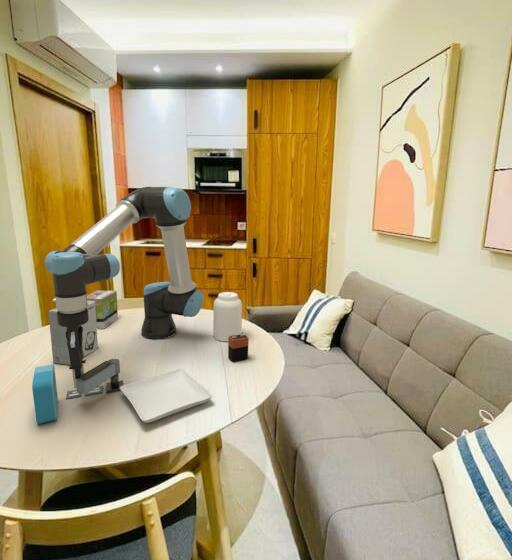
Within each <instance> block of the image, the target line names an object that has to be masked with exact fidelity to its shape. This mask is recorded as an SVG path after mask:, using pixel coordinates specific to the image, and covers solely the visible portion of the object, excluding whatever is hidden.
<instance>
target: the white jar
mask: <svg viewBox="0 0 512 560" xmlns="http://www.w3.org/2000/svg"><path fill="white" fill-rule="evenodd" d="M242 303H243V302H242V301H241V299H240V298H239V295H238V293H236V292H233V291H223V292H220V293H218V295H217V298H216V299H214V302H213V315H212V316H213V325H212V326H213V329H212V330H213V331H212V332H213V335H212V336H213V338H214V339H215V340H217V341H220V342H228V337H229V336H232V335H240V333H242V330H243V329H242V328H243V327H242V323H243V322H242V321H243V317H242V316H243V304H242Z"/></svg>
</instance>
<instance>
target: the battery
mask: <svg viewBox="0 0 512 560" xmlns="http://www.w3.org/2000/svg"><path fill="white" fill-rule="evenodd" d="M249 339H250V338H249V337H248V336H247V335H246V333H244V332H241V333H240V335H232V336H229V337H228V343H227V344H228V345H227V354H228V355H227V358H228V359H229V360H230V361H231V363H236V362H240V361H245V360H248V359H249Z"/></svg>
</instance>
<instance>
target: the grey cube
mask: <svg viewBox="0 0 512 560" xmlns="http://www.w3.org/2000/svg"><path fill="white" fill-rule="evenodd" d="M109 380H110V381H109V382H106V386H105V387H106V388H105V389H106V390H105V391H106V392H105V393H106V394H109V393H116V392H122V391H121V390H120V387H121V386H123V385H124V380H123V379H121V380H120V379H119V374H117V375H114V376H112V377H111V378H109Z"/></svg>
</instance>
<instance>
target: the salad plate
mask: <svg viewBox="0 0 512 560" xmlns="http://www.w3.org/2000/svg"><path fill="white" fill-rule="evenodd" d="M120 390H121V391H120V392H122V394H123V395H124V397H126V398H127V400H128V401H129V402H130V404H131V405H132V407H133V408H134V410H135V412H136V414H137V415H138V417H139V418H140V420H141V421H142V422H143V423H152V422H156V421H157V420H160V419H163V418H165V417H168V416H171V415H173V414H177V413H179V412H182V411H184V410H188V409H190V408H193V407H196V406H199V405H201V404H204V403H206V402H208V401H209V400H211V399H212V397H213V395H212V394H211V393H210V391H209V390H208V389H206V388H205V387H204V386H203V385H201V383H199V382H198V381H197V380H196V379H195V378H194V377H192V376H191V375H190V374H189V373H188V372H187V371H186V370H184V368H178V369H174V370H171V371H168V372H164V373H160V374H157V375H152V376H150V377H145V378H142V379H139V380H135V381H133V382H130V383H125V384H123V386H121V387H120Z"/></svg>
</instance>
